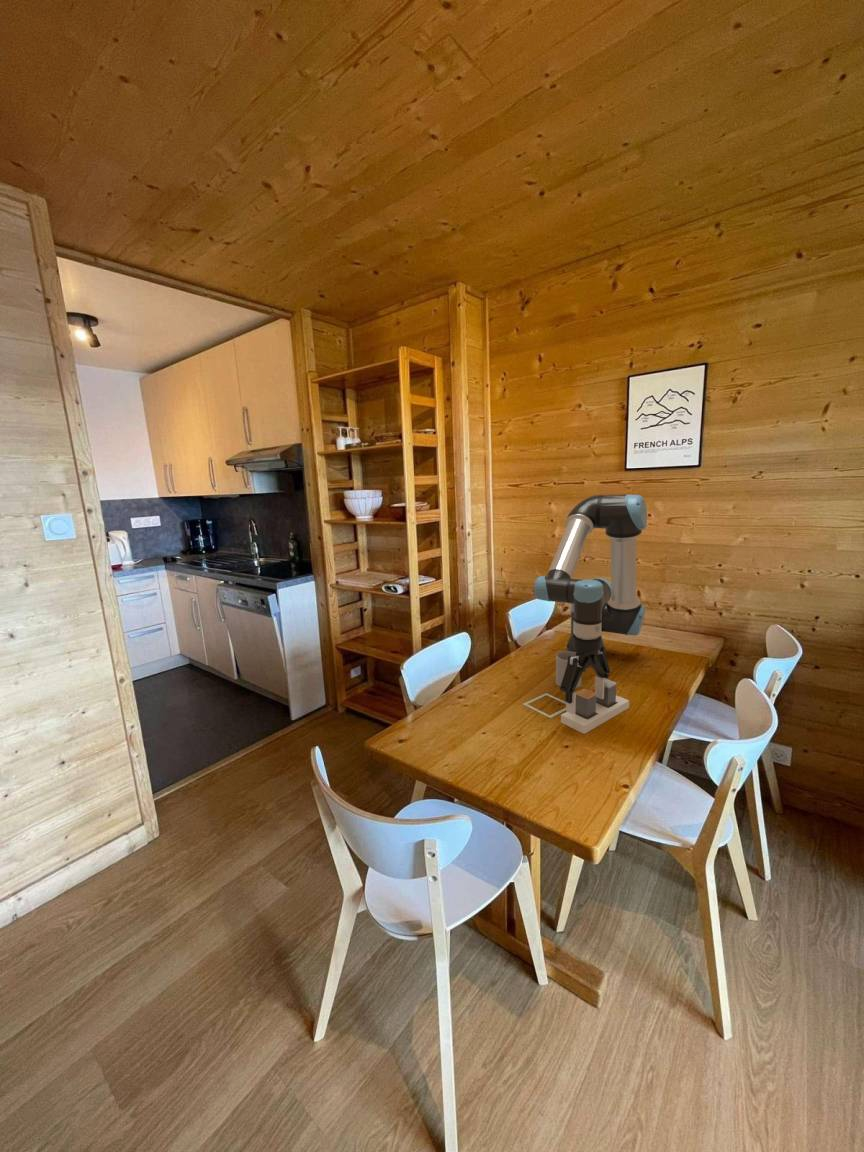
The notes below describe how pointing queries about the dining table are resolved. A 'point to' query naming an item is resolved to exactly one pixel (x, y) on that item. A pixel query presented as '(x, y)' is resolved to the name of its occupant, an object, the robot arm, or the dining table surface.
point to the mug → (563, 666)
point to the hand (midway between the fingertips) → (585, 704)
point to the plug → (585, 703)
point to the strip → (600, 717)
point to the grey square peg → (608, 694)
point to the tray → (543, 712)
